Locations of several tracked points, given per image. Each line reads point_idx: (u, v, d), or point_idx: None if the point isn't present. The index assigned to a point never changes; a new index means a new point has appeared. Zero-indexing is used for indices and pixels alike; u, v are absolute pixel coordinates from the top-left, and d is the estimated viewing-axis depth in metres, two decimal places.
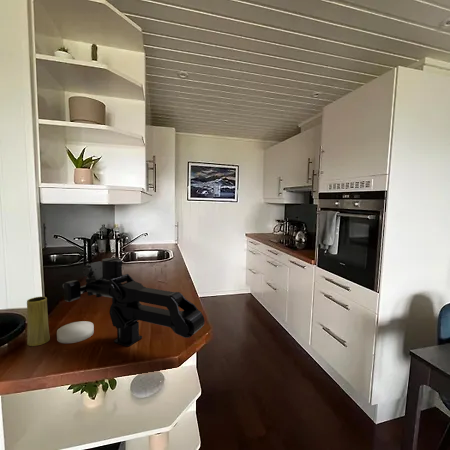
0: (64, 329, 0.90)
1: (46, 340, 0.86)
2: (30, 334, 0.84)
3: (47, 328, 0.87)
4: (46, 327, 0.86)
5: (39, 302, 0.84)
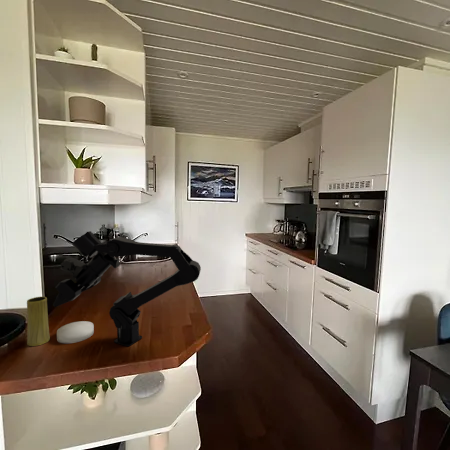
0: (64, 329, 0.90)
1: (46, 340, 0.86)
2: (30, 334, 0.84)
3: (47, 328, 0.87)
4: (46, 327, 0.86)
5: (39, 302, 0.84)
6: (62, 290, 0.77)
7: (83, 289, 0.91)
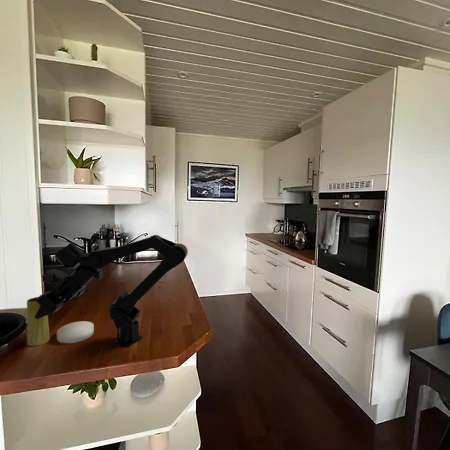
0: (64, 329, 0.90)
1: (46, 340, 0.86)
2: (30, 334, 0.84)
3: (47, 328, 0.87)
4: (46, 327, 0.86)
5: None
6: (43, 303, 0.77)
7: (66, 300, 0.91)
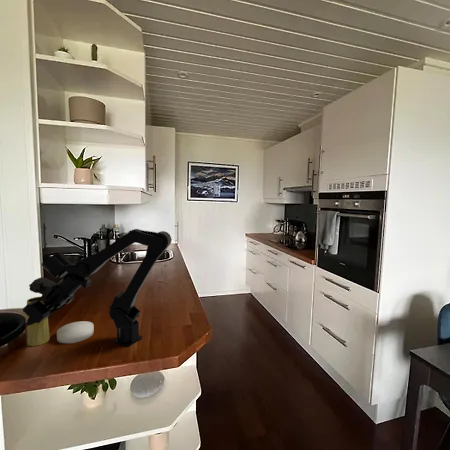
0: (64, 329, 0.90)
1: (46, 340, 0.86)
2: (30, 334, 0.84)
3: (47, 328, 0.87)
4: (46, 327, 0.86)
5: None
6: (29, 312, 0.77)
7: (52, 310, 0.89)
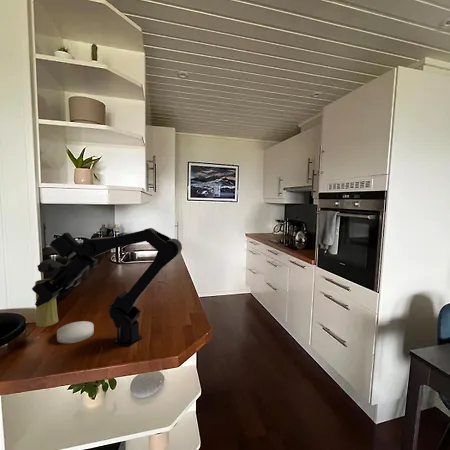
0: (64, 329, 0.90)
1: (55, 321, 0.87)
2: (39, 315, 0.84)
3: (55, 309, 0.87)
4: (55, 308, 0.87)
5: None
6: (39, 291, 0.77)
7: (60, 292, 0.90)
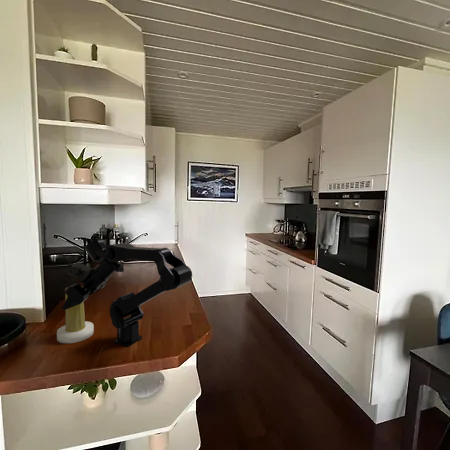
0: (64, 329, 0.90)
1: (83, 327, 0.90)
2: (68, 321, 0.88)
3: (83, 315, 0.91)
4: (83, 314, 0.90)
5: None
6: (71, 294, 0.81)
7: (89, 293, 0.95)
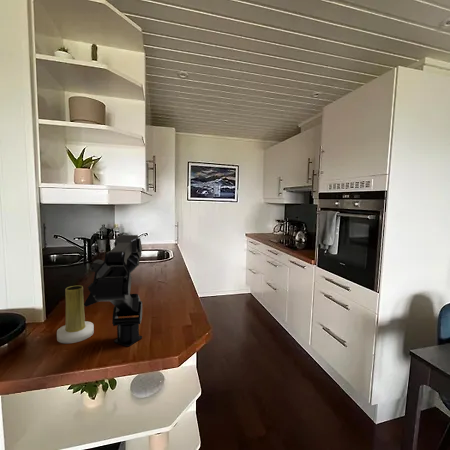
0: (64, 329, 0.90)
1: (83, 327, 0.90)
2: (68, 321, 0.88)
3: (83, 315, 0.91)
4: (83, 314, 0.90)
5: (77, 290, 0.88)
6: None
7: None
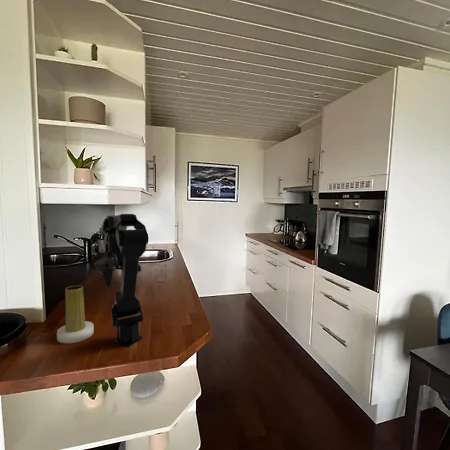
0: (64, 329, 0.90)
1: (83, 327, 0.90)
2: (68, 321, 0.88)
3: (83, 315, 0.91)
4: (83, 314, 0.90)
5: (77, 290, 0.88)
6: None
7: (111, 274, 1.04)
